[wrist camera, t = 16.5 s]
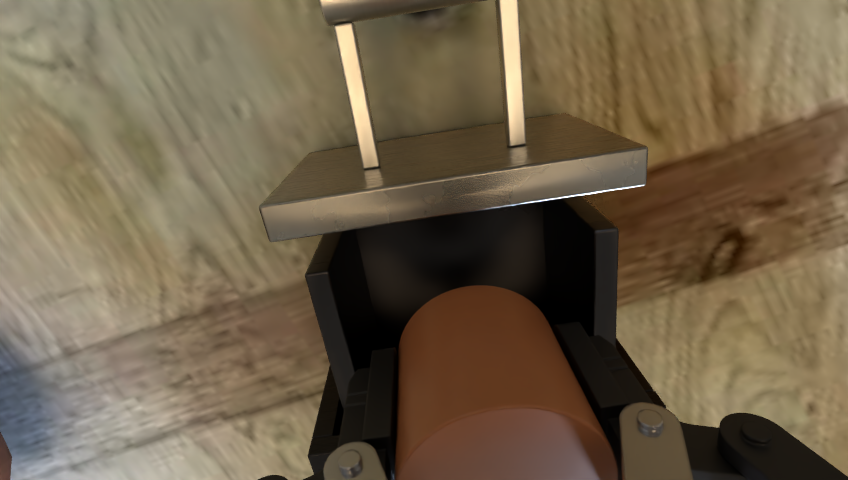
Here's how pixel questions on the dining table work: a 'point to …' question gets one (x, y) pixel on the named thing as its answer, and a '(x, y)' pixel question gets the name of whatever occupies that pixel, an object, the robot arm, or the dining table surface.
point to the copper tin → (492, 395)
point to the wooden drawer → (452, 208)
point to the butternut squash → (4, 460)
